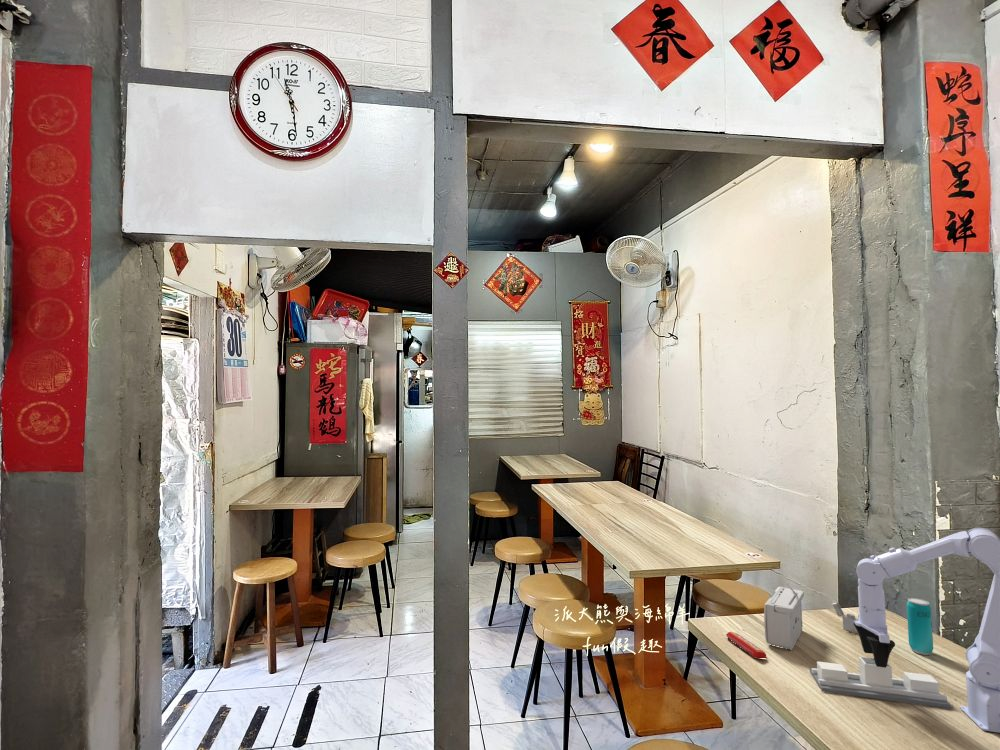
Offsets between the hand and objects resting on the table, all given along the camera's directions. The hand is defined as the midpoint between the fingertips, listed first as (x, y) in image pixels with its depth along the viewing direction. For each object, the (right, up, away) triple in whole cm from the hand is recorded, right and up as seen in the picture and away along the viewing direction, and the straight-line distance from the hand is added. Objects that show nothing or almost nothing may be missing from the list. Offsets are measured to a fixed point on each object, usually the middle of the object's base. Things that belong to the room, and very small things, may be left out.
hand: (874, 659), depth 134 cm
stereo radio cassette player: (-7, -10, +30) cm, 32 cm away
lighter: (+17, -10, +36) cm, 41 cm away
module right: (+10, -7, -3) cm, 13 cm away
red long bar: (-23, -10, +22) cm, 34 cm away
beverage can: (+29, -9, +20) cm, 36 cm away
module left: (-10, -8, +2) cm, 13 cm away
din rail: (0, -8, 0) cm, 8 cm away
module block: (0, -7, 0) cm, 7 cm away
